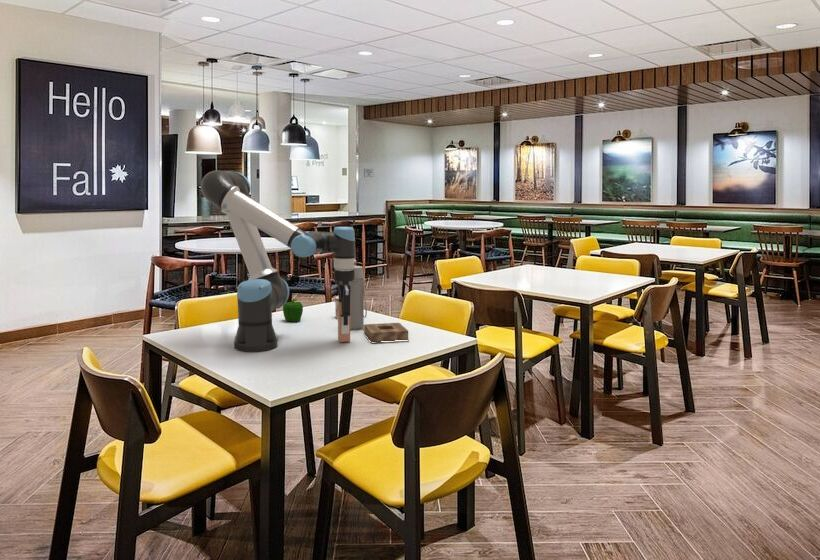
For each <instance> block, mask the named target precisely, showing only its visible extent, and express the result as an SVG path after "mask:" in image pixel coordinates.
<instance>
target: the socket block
mask: <svg viewBox="0 0 820 560" xmlns="http://www.w3.org/2000/svg"><path fill="white" fill-rule="evenodd" d="M363 328H364V329H363V331H364V332H363V334H365V335H366V336H367V337H368V339H369V340H370V341H371V342H381V341H395V340H408V341H409V329H407V328H406V327H405V326H404V325H402V324H401V322H389V323H387V322H386V323H369V324H367V323H364V326H363ZM365 335H364V336H365ZM366 336H365V337H366ZM367 337H366V338H367ZM368 339H367V340H368ZM369 340H368V341H369ZM370 341H369V342H370ZM371 342H370V343H371Z"/></svg>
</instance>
